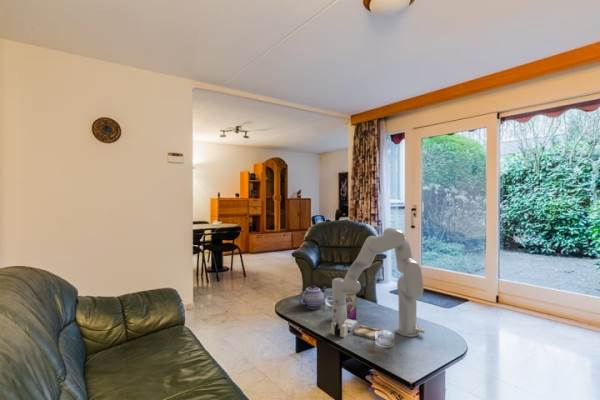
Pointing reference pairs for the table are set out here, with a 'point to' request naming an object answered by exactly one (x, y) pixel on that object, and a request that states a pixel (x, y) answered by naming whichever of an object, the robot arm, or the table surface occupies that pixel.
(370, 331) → the tray
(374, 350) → the table surface
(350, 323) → the striped square panel
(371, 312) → the table surface
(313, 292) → the teapot
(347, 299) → the candy bar box
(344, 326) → the stub
